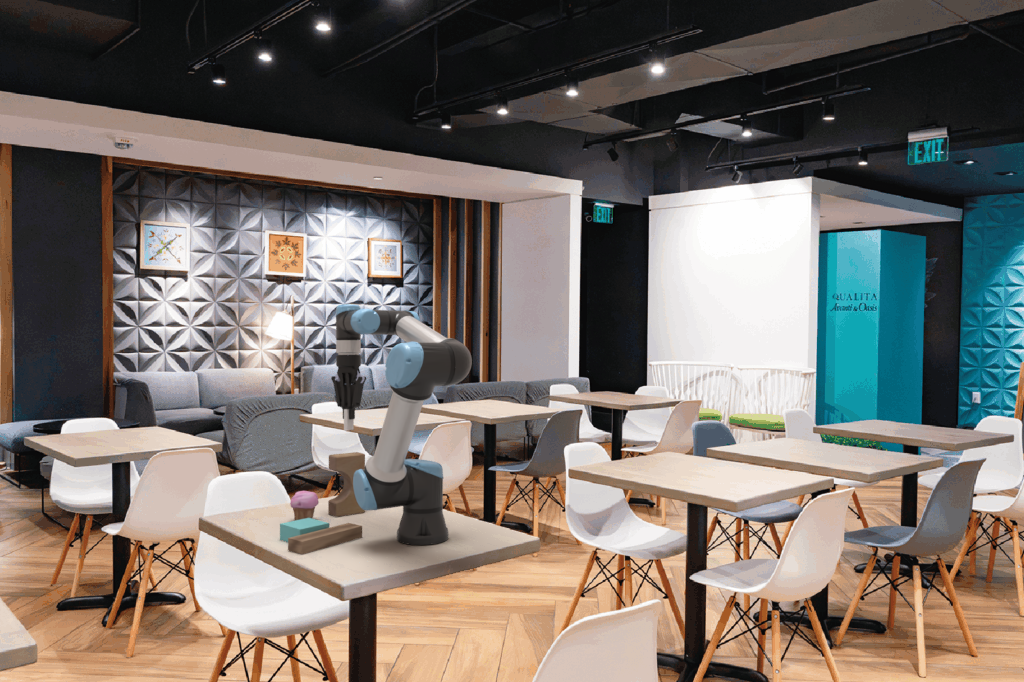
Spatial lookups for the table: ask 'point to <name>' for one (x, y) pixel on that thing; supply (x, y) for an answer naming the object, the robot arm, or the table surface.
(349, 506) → the decorative block
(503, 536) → the table surface
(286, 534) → the teal block
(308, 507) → the cupcake
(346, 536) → the walnut board
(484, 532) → the table surface
